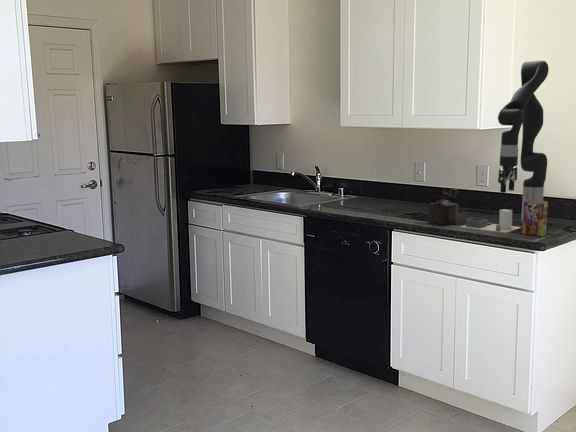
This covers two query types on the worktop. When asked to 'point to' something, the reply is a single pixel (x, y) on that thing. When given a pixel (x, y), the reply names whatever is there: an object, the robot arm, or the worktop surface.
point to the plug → (505, 218)
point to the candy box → (535, 217)
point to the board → (486, 225)
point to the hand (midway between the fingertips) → (507, 191)
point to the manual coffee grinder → (444, 210)
